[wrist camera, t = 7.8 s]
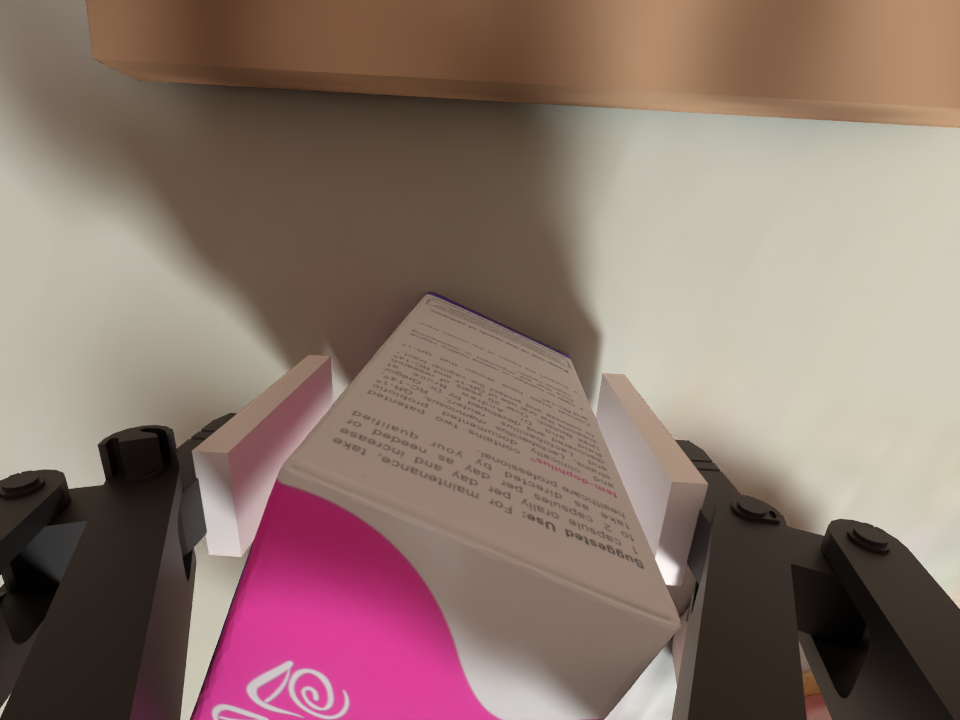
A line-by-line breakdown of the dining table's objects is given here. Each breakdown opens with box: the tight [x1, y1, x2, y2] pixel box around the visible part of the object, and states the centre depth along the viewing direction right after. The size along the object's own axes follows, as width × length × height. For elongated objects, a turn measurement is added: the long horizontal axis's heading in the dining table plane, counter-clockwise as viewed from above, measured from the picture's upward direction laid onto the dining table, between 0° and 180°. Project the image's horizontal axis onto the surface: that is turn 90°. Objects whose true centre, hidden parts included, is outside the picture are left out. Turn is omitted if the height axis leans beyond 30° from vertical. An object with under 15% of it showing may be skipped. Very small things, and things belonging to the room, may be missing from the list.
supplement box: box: [190, 292, 681, 720], centre depth 12 cm, size 6×6×12 cm
